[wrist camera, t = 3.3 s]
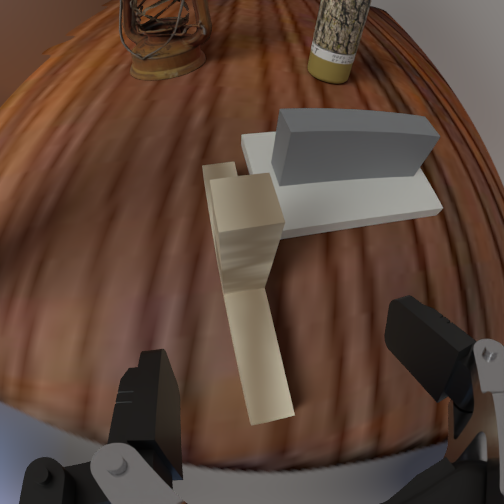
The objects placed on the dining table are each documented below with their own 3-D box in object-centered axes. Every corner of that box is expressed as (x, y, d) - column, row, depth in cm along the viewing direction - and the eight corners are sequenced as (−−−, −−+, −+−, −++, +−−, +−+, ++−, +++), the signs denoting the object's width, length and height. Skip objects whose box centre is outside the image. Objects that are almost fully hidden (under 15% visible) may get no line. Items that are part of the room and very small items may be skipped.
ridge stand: (267, 241, 25) (281, 180, 17) (241, 144, 30) (244, 82, 22) (436, 215, 27) (475, 172, 20) (391, 139, 32) (415, 93, 25)
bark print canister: (349, 74, 40) (384, -49, 17) (344, 90, 37) (384, -52, 14) (311, 62, 41) (337, -62, 18) (301, 76, 38) (329, -67, 15)
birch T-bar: (249, 421, 18) (266, 458, 8) (203, 179, 28) (195, 84, 18) (289, 412, 19) (342, 436, 9) (233, 175, 28) (236, 80, 18)
